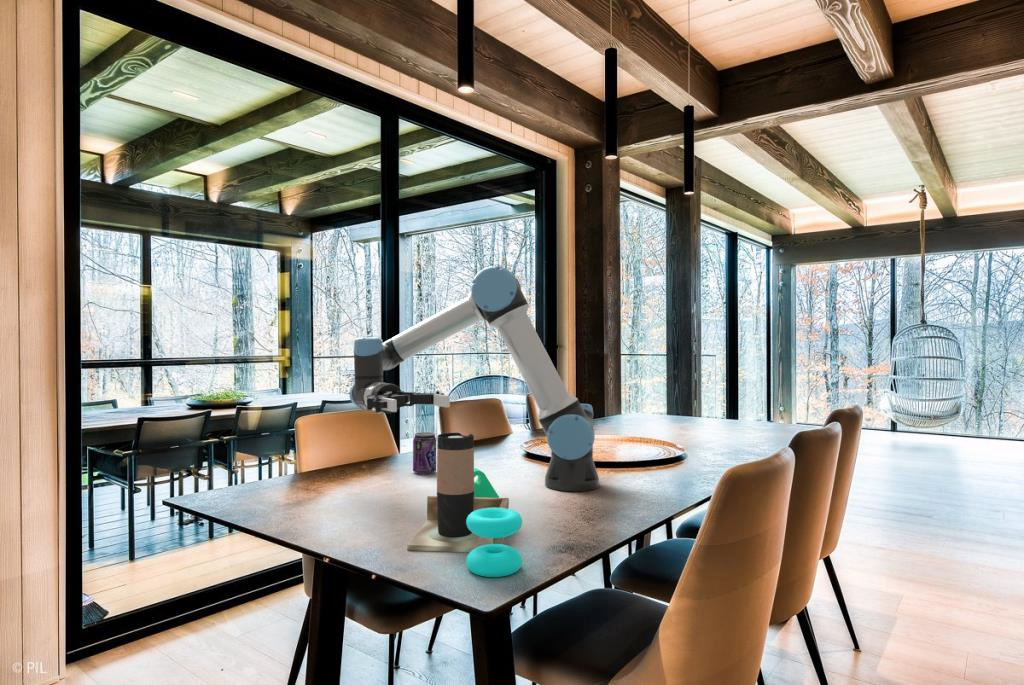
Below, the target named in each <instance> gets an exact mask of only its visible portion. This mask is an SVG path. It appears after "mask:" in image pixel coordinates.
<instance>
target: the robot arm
mask: <svg viewBox="0 0 1024 685" xmlns="http://www.w3.org/2000/svg"><path fill="white" fill-rule="evenodd" d="M529 306H530V305H529V302H528V300H527V299H526V297H525V295H524V294H523V291H522V287H521V284H520V282H519V280H518V278H517V277H516V276H515V275H513V273H512V272H511V270H509V269H507V268H506V267H502V266H497V265H496V266H495V265H492V266H488V267H484V268H483V269H481V270H479V271H478V272H477V273H476V275H475V276H474V278H473V279H472V282H471V288H470V291H469V293H468V295H467V297H465V298H463V299H461V300H459V301H458V302H456V303H454V304H452V305H450V306H448V307H446V308H445V309H443V310H441V311H439V312H437V313H436V314H433V315H431V316H430V317H427V318H426V319H424V320H423V321H420V322H418V323H417V324H416V325H413V326H411V327H409V328H408V329H406V330H404V331H402V332H401V333H398V334H397V335H395V336H393V337H391V338H389V339H387V340H385V341H384V342H383V339H382V338H381V337H379V336H377V337H375V336H373V337H357V338H355V339H354V341H353V342H354V344H353V362H354V378H353V379H354V383H353V384H352V385H351V387H350V390H349V394H348V395H349V400H350V401H351V403H352V404H353V405H354V406H356V407H357V408H359V409H363V410H368V411H374V412H375V413H377V414H378V415H379V414H380V415H381V414H382V413H384V414H394V413H397V412H398V410H399V409H400V408H404V407H413V406H415V405H433V406H434V407H435V406H436V407H442V408H450V407H451V403H450V402H451V400H450V397H451V396H450V395H446V394H445V393H443V392H442V393H440V391H439V390H437V391H436V392H435V393H431V392H430V393H429V392H416V391H404V390H401V388H400V386H398V385H396V384H394V383H386V382H384V371H390V370H392V369H394V368H396V367H397V366H398V365H399V364H401V363H403V362H404V361H406V360H408V359H410V358H412V357H414V356H416V355H417V354H419V353H422V352H423V351H425V350H427V349H429V348H430V347H432V346H434V345H437V344H438V343H441V342H442V341H444V340H446V339H447V338H450V337H452V336H453V335H455V334H457V333H459V332H461V331H463V330H464V329H467V328H469V327H470V326H472V325H475V324H476V323H478V322H480V321H484V322H487V323H488V325H489V327H492V328H495V329H497V331H498V333H499V334H500V336H501V337H502V340H503V342H504V344H505V345H506V348H507V349H508V351H509V353H510V355H511V357H512V359H513V361H514V363H515V365H516V367H517V369H518V371H519V373H520V375H521V376H522V378H523V380H524V382H525V384H526V386H527V388H528V390H529V392H530V394H531V396H532V398H533V400H534V401H535V403H536V405H537V407H538V410H539V414H538V417H537V420H538V422H539V424H540V425H541V428H542V429H543V432H544V434H545V436H546V441H547V445H548V447H549V448H550V451H551V454H550V455H551V456H550V459H549V460H550V461H549V464H548V467H547V470H546V472H545V477H544V486H546V487H547V488H548V489H552V490H555V491H562V492H587V491H591V490H592V491H593V490H595V489H598V488H599V487H600V476H599V474H598V471H597V468H596V465H595V461H594V456H593V455H594V454H593V452H594V449H593V448H594V447H593V446H594V443H595V439H596V438H595V437H596V436H595V435H596V434H595V429H594V409H593V406H592V404H589V403H580V401H579V399H578V397H575V396H573V395H570V394H569V391H568V390H567V388H566V386H565V384H564V382H563V381H562V378H561V376H560V374H559V373H558V371H557V369H556V367H555V366H554V364H553V362H552V359H551V357H550V355H549V354H548V352H547V350H546V348H545V346H544V344H543V343H542V340H541V338H540V337H539V335H538V333H537V331H536V328H535V327H534V325H533V323H532V321H531V319H530V317H529V316H528V310H529Z"/></svg>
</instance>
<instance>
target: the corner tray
mask: <svg viewBox="0 0 1024 685" xmlns="http://www.w3.org/2000/svg"><path fill="white" fill-rule="evenodd" d="M426 498H427V499H426V521H425V522H424V523H423V524H422V525H421V527H420V528H419V530H418V531H417V532H416V533H415V535H414V536H413V537H412V539H410V541H409V542H408V544H407V545H406V548H407V551H422V552H423V551H425V552H454V553H470V552H471V551H472V550H473V549H475V548H477V547H479V546H482V545H487V544H503V545H504V540H505V538H506V537H502V538H485V537H481V536H478V535H476V534H474V533H472V534H470V535H468V536H465V537H458V538H450V537H444V536H441V535H439V533H438V513H437V495H427V497H426ZM509 500H510V498H509V497H499V498H486V497H474V511H475V510H478V509H483V508H493V507H495V508H507V509H510V508H509V505H510V501H509Z"/></svg>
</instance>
